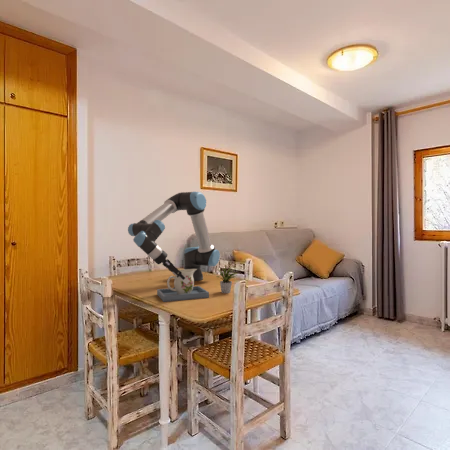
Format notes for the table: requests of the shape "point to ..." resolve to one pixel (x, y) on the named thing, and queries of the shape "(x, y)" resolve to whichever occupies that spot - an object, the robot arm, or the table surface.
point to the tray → (170, 295)
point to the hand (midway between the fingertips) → (184, 280)
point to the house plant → (226, 280)
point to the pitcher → (180, 285)
